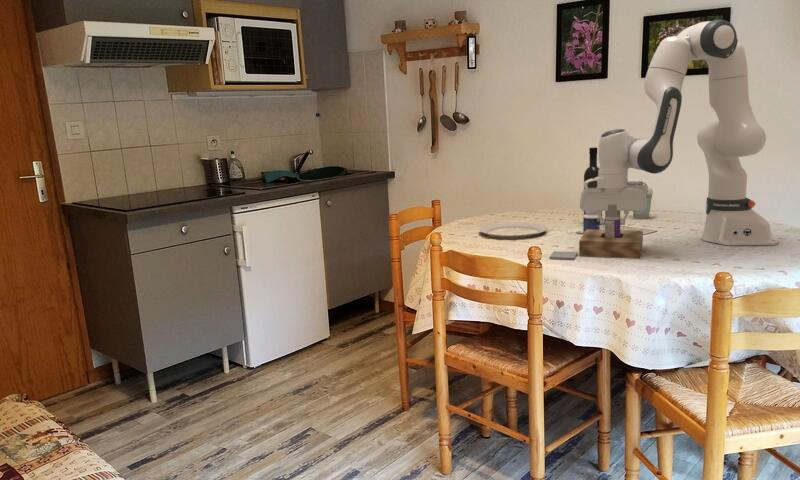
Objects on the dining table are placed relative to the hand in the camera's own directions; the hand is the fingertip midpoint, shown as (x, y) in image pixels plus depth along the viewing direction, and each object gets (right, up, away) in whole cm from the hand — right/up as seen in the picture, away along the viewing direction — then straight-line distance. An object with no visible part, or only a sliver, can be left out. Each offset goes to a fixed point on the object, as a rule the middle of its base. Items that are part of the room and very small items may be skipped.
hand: (612, 224), depth 201 cm
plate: (-25, -3, +38) cm, 46 cm away
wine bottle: (+7, +1, +45) cm, 45 cm away
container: (+1, -8, +2) cm, 8 cm away
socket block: (0, -9, +2) cm, 9 cm away
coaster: (-16, -10, -2) cm, 20 cm away
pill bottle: (+1, -4, +25) cm, 26 cm away
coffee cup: (+29, +4, +52) cm, 60 cm away
